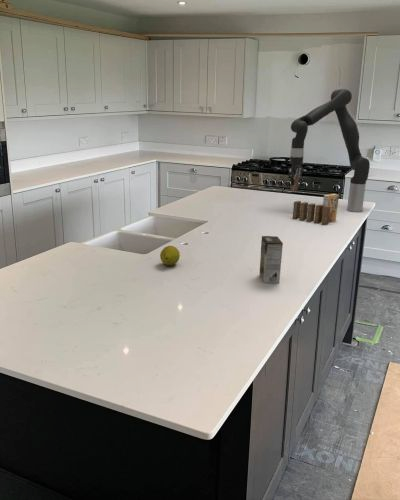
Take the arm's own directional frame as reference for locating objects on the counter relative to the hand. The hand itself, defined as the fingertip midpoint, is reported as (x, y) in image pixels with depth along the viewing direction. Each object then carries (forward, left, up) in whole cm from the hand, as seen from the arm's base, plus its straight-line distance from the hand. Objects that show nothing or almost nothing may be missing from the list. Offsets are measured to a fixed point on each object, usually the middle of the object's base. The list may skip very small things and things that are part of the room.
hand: (294, 184), depth 303 cm
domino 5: (+11, +22, -17) cm, 30 cm away
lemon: (+122, +9, -17) cm, 123 cm away
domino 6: (+11, +26, -17) cm, 33 cm away
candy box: (+3, +25, -17) cm, 31 cm away
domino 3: (+11, +13, -17) cm, 24 cm away
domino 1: (0, 0, -3) cm, 3 cm away
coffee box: (+108, +48, -17) cm, 119 cm away
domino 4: (+11, +17, -17) cm, 27 cm away
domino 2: (+11, +8, -17) cm, 22 cm away
